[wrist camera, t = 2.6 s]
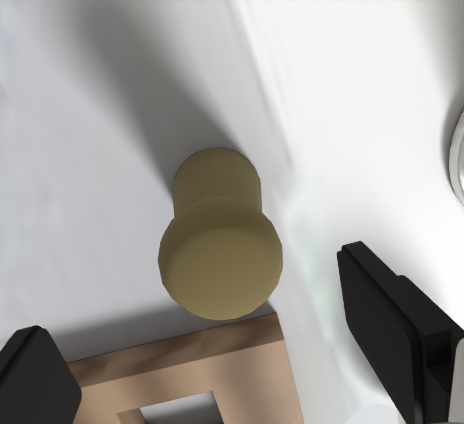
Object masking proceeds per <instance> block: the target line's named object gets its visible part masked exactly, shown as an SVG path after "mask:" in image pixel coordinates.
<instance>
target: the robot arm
mask: <svg viewBox="0 0 464 424" xmlns="http://www.w3.org/2000/svg"><path fill="white" fill-rule="evenodd" d="M449 171H450V178H451V184H452V186H453V189H454V191H455V193H456V196H457V198H458V199H459V201H460V202H461V203H462V205H463V206H464V111H463V112H462V114H461V117H460V119H459V121H458V124H457V126H456V129H455V131H454V134H453V139H452V143H451V147H450V156H449ZM337 260H338V267H339V274H340V281H341V287H342V294H343V301H344V308H345V315H346V321H347V324H348V327H349V329H350V331H351V333H352V335H353V337H354V338H355V340H356V341H357V343H358V345H359V346H360V348H361V350H362V351H363V353H364V355H365V356H366V358H367V360H368V361H369V363H370V365H371V366H372V368H373V370H374V371H375V373H376V375H377V376H378V378H379V380H380V381H381V383H382V384H383V386H384V388H385V389H386V391H387V393H388V394H389V396H390V398H391V399H392V401H393V403H394V404H395V406H396V408H397V409H398V411H399V413H400V414H401V416H402V418H403V419H404V421H405V423H406V424H464V330H463V329H462V328H461V327H460V326H459V325H458V324H457V323H455V322H454V321H453V320H452V319H451V318H450V317H449V316H448V315H447V314H446V313H445V312H444V311H443V310H442V309H440V308H439V307H438V306H437V305H436V304H435V303H434V302H433V301H432V300H431V299H430V298H429V297H428V296H427V295H426V294H424V293H423V292H422V291H421V290H420V289H419V288H418V287H417V286H416V285H415V284H414V283H413V282H412V281H411V280H409V279H408V278H407V277H406V276H404V275H399V276H397V275H396V274H395V273H394V272H393V271H392V270H391V269H390V268H389V267H388V266H387V265H385V264H384V263H383V262H382V261H381V260H380V259H379V258H378V257H377V256H376V255H375V254H374V253H373V252H372V251H371V250H370V249H369V248H368V247H367V246H366V245H365V244H364V243H363V242H362V241H358V242H354V243H350V244H346V245H343V246H342V251H338V252H337ZM81 400H82V391H81V388H80V386H79V385H78V383H77V381H76V379H75V378H74V376H73V374H72V372H71V371H70V369H69V367H68V365H67V364H66V362H65V360H64V358H63V357H62V355H61V353H60V351H59V350H58V348H57V346H56V344H55V343H54V341H53V339H52V337H51V336H50V334H49V332H48V331H47V330H46V329H44V328H41V327H40V326H37V325H35V326H31V327H28V328H24V329H20V330H17V331H16V332H15V333H14V334H13V335H12V337H11V338H10V339H9V341H8V342H7V343H6V345H5V346H4V347H3V349H2V350H1V351H0V424H73V421H74V419H75V416H76V413H77V411H78V408H79V405H80V403H81Z"/></svg>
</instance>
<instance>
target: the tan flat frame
mask: <svg viewBox="0 0 464 424" xmlns="http://www.w3.org/2000/svg"><path fill="white" fill-rule="evenodd" d="M66 364H67V365H68V367H69V369H70V371H71V372H72V374H73V376H74V378H75V379H76V381H77V383H78V385H79V386H80V388H81V391H82V400H81V403H80V405H79V408H78V411H77V413H76V416H75V419H74V421H73V424H147V423H146V421H145V419H144V417H143V415H142V413H141V411H140V409H139V408H141V407H145V406H149V405H154V404H158V403H162V402H166V401H171V400H175V399H179V398H184V397H188V396H192V395H196V394H201V393H205V392H209V391H212V392H213V394H214V397H215V400H216V403H217V405H218V408H219V411H220V413H221V416H222V419H223V422H224V423H223V424H304V420H303V416H302V411H301V407H300V403H299V399H298V395H297V391H296V386H295V382H294V378H293V374H292V370H291V365H290V361H289V357H288V353H287V349H286V344H285V340H284V337H283V333H282V330H281V326H280V323H279V319H278V316H277V313H274V314H270V315H265V316H261V317H257V318H253V319H249V320H245V321H240V322H236V323H232V324H228V325H224V326H220V327H215V328H211V329H207V330H203V331H199V332H194V333H190V334H186V335H182V336H178V337H174V338H169V339H165V340H161V341H157V342H153V343H149V344H144V345H140V346H136V347H132V348H128V349H124V350H119V351H115V352H111V353H107V354H103V355H98V356H94V357H90V358H86V359H82V360H78V361H73V362H69V363H66Z"/></svg>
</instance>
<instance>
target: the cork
mask: <svg viewBox="0 0 464 424" xmlns="http://www.w3.org/2000/svg"><path fill="white" fill-rule="evenodd" d="M173 203H174V217H175V218H174V219H173V220H171V222H170V224H169V226H168V228H167V229H166V231H165V233H164V235H163V237H162V240H161V242H160V249H159V255H158V264H159V269H160V274H161V278H162V283H163V285H164V287H165V288H166V290H167V291H168V293H169V295H170V296H171V298H172V299H173V300H175V301H176V302H177V303H178V304H179V305H181V306H182V307H183V308H184V309H185V310H187V311H188V312H190V313H192V314H194V315H197V316H199V317H202V318H205V319H213V320H227V319H235V318H239V317H241V316H243V315H246V314H248V313H251V312H253V311H254V310H255V309H256V308H258V307H259V306H260V305H262V304H263V303H264V302H265V301H266V300H267V299H268V298H269V296H270V295H271V293H272V292H273V291H274V289H275V288H276V286H277V285H278V282H279V279H280V275H281V272H282V268H283V255H282V244H281V242H280V239H279V237H278V235H277V233H276V230H275V228H274V226H273V224H272V222H271V221H270V220H269V219H268V218H267V217H266V216H265V215H264V214H263V213H262V199H261V184H260V178H259V176H258V174H257V171H256V169H255V167H254V166H253V165H252V164H251V163H250V162H249V161H248V159H247V158H246V157H244V156H242V155H241V154H239V153H237V152H235V151H234V150H229V149H224V148H219V147H218V148H210V149H204V150H202V151H199V152H197V153H195V154H193V155H191V156H190V157H189V158H188V159H187V160H186V161H185V162H184V163H183V164H182V165H181V166H180V168H179V170H178V172H177V174H176V176H175V178H174V185H173Z"/></svg>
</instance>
